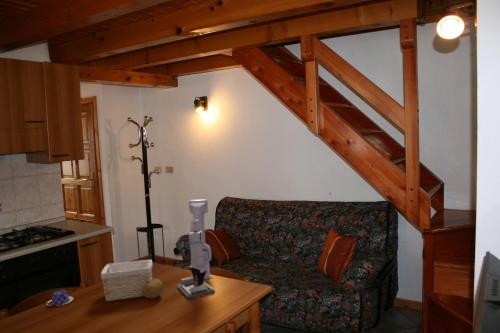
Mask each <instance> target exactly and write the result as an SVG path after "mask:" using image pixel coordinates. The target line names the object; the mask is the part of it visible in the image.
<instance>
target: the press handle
mask: <svg viewBox="0 0 500 333" xmlns="http://www.w3.org/2000/svg"><path fill="white" fill-rule="evenodd" d="M195 278H196V285H192V286H190V291H191V292H192V293H193V292H198V291H202V290H206V289H208V285H209V284H208V283H207V282H206V283H203V285H198V281H197V277H196V275H195ZM207 284H208V285H207Z"/></svg>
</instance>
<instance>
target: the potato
mask: <svg viewBox="0 0 500 333" xmlns="http://www.w3.org/2000/svg"><path fill="white" fill-rule="evenodd" d="M163 289H164V285H163V283H162V281H161V280H160V279H159V278H152V280H151V281H150V282H148V283H147V284H145V285H144V287H143V288H142V294H143V295H144V296H143V297H144V298H146V299H156V298H157V297H159V296H160V295H161V294H162V292H163Z"/></svg>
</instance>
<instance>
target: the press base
mask: <svg viewBox="0 0 500 333" xmlns="http://www.w3.org/2000/svg"><path fill="white" fill-rule="evenodd" d="M203 283H207V281H205V280H204V281H203ZM192 285H196V281H194V278H193V276H189V277H184V278H180V283H179V284H177V285H176V288H177V289H178V290H179V291H180V293H181V294H184V295H185V296H184V295H183V296H184V297H185V298H186V299H187V300H189V298H190V299H194V298H197V297H198V296H199V297H202V295H203V296H207V295H211V294H210V293H212V294H215V292H216V291H215V288H213V287H212V286H211V285H210V284H208V283H207V285H208V289H206V290H202V291H198V292H193V293H192V292H191V291H190V286H192ZM206 294H207V295H206ZM193 297H194V298H193ZM199 297H198V298H199Z"/></svg>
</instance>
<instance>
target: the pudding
mask: <svg viewBox="0 0 500 333" xmlns="http://www.w3.org/2000/svg"><path fill="white" fill-rule="evenodd" d="M69 299H70V300H69ZM73 300H74V297H73V296H72V295H71V296H69V295H68V292H67V291H66V290H64V289H62V290H61V289H60V290H57V291H54V292H53V294H52V298H51V299H50V300H48V301H47V302H46V306H50V307H52V306H51V305H53V304H54V305H56V306H55V307H58V306H59V307H60V306H64V305H66V304H69V303H70V302H72V301H73ZM51 301H52V303H51V305H48V304H47V303H49V302H51ZM61 304H62V305H61Z"/></svg>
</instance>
